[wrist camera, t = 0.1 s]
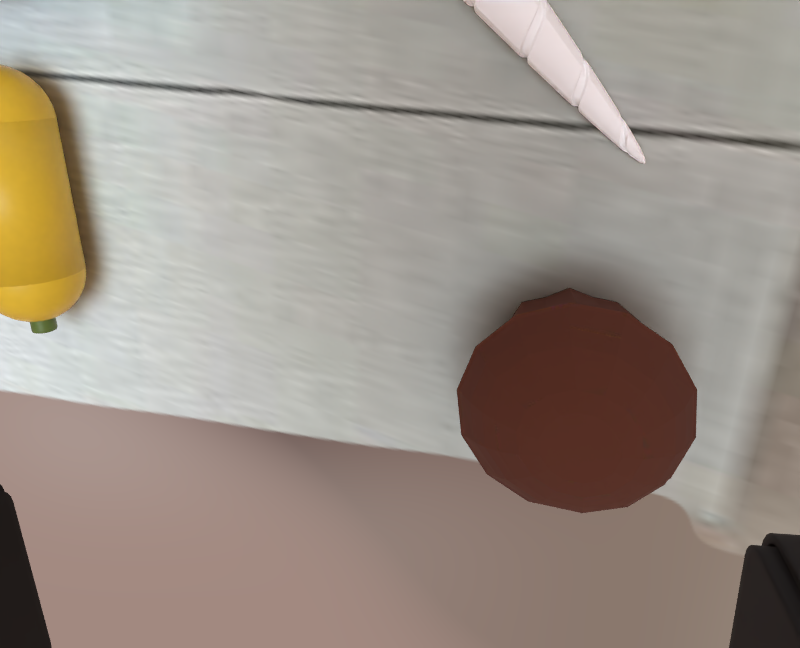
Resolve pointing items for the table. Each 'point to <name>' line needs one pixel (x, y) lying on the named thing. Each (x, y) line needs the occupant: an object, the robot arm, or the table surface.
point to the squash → (35, 209)
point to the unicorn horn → (557, 62)
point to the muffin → (577, 404)
